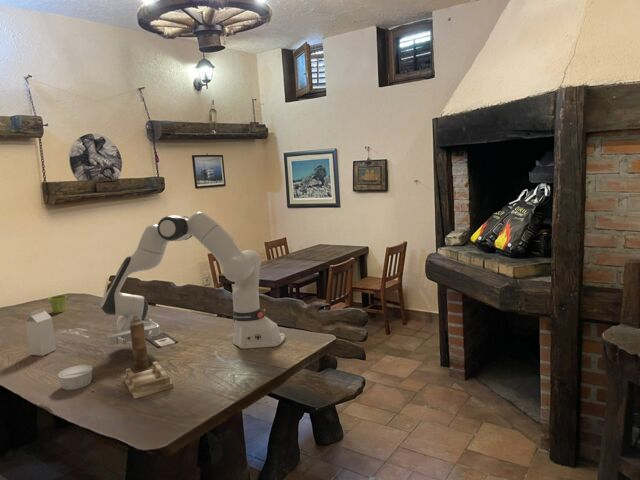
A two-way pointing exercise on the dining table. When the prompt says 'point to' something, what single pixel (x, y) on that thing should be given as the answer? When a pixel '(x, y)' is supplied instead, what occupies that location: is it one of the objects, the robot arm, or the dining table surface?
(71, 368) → the ramekin
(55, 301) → the plant pot
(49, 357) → the dining table surface
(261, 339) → the robot arm
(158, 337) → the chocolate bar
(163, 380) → the rack
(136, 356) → the pepper mill
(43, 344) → the milk carton
